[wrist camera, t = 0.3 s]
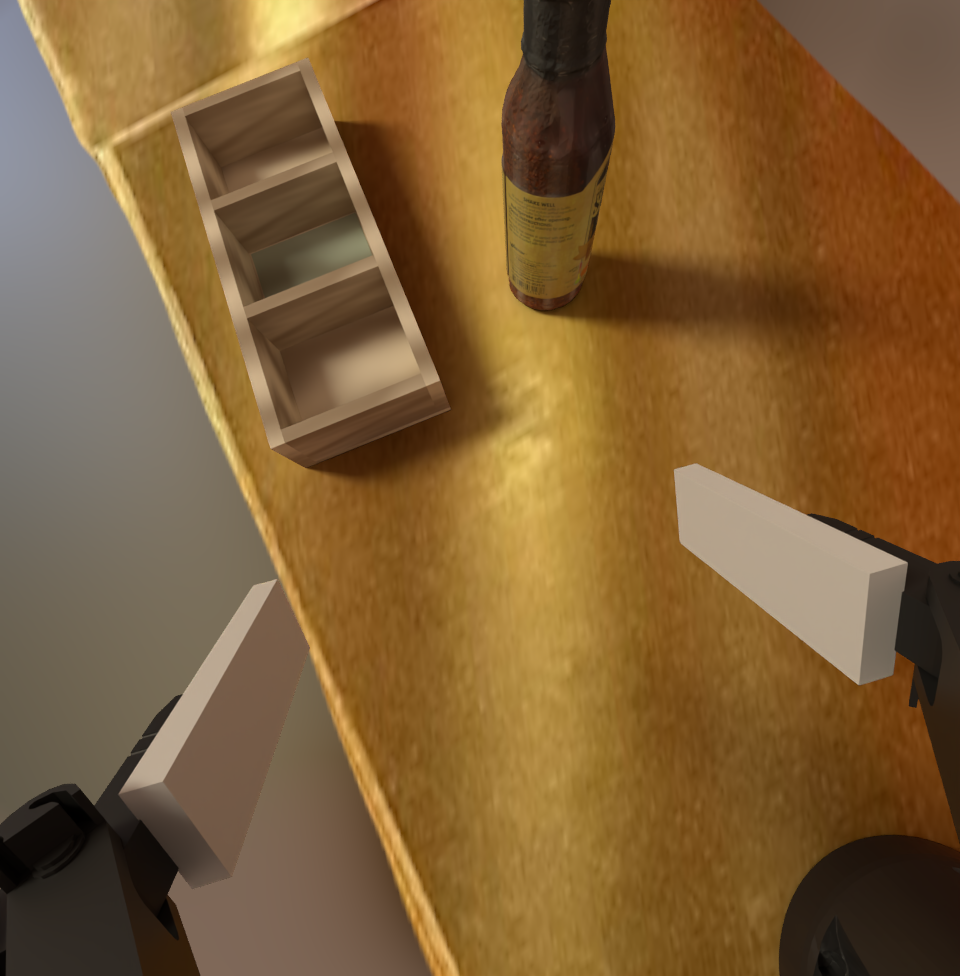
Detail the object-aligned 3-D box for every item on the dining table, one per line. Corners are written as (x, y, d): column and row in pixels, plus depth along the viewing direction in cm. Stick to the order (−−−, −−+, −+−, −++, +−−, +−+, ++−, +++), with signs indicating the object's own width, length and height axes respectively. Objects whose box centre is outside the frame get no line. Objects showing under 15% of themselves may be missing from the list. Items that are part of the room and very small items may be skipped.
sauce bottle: (594, 301, 35) (695, -50, 15) (518, 324, 35) (524, 3, 16) (568, 235, 36) (631, -163, 17) (496, 256, 36) (475, -115, 17)
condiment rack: (450, 409, 34) (440, 380, 29) (305, 468, 34) (270, 448, 29) (332, 120, 41) (308, 57, 36) (211, 168, 41) (170, 111, 36)
